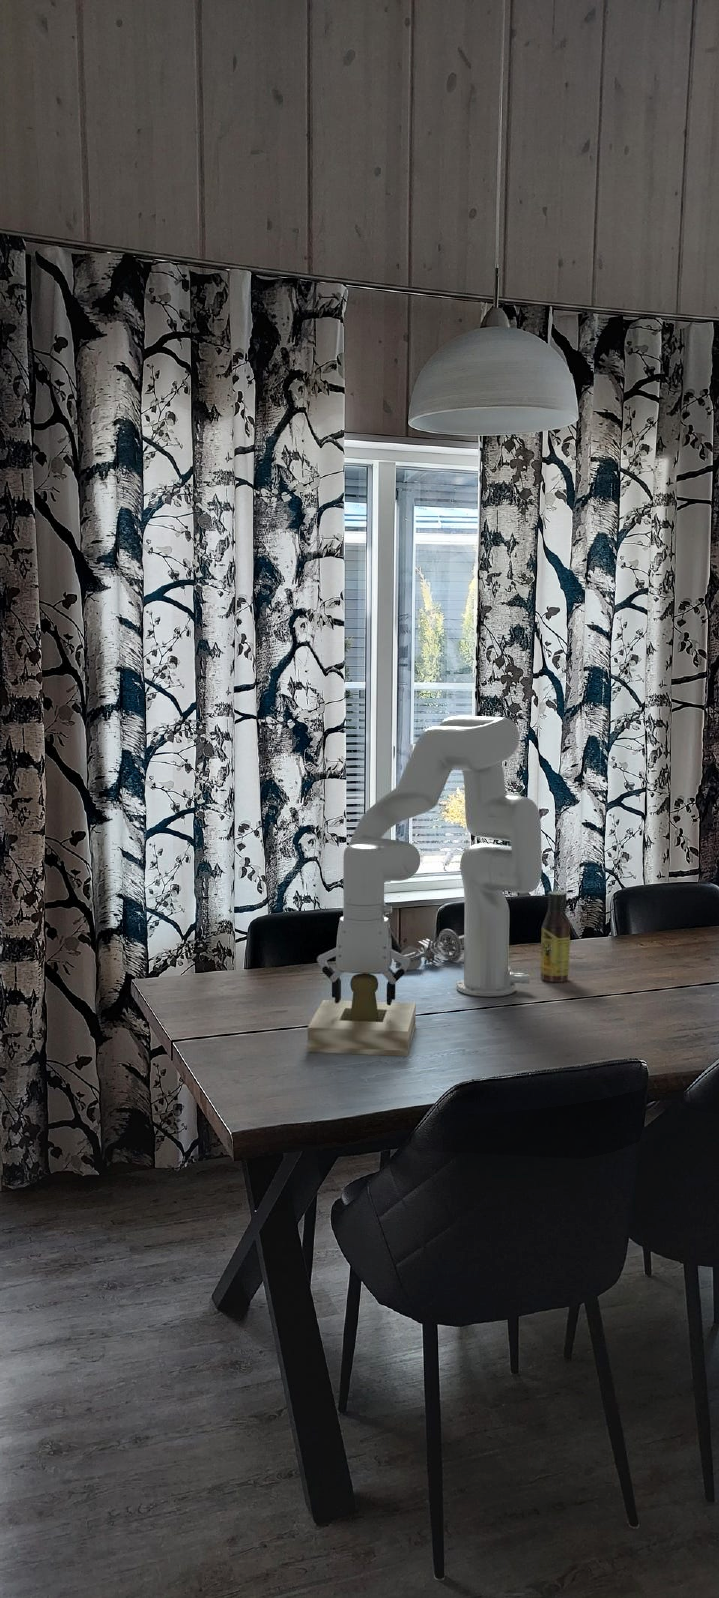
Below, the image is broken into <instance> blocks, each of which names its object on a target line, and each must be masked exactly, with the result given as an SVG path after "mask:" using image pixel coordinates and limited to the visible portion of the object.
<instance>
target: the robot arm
mask: <svg viewBox="0 0 719 1598" xmlns="http://www.w3.org/2000/svg"><path fill="white" fill-rule="evenodd" d="M519 742H520V731H519V729H518V726H517V725H516V723H515V722H514V721H513V720H512V719H509V718H508V717H501V716H477V715H457V716H456V715H455V716H449V717H447V718H445V719H443V720H442V721H441V722H440V724H439V726H430V727H428V728H426V729H424V730H423V731H422V732H421V734H420V735H419V737H418V739H417V741H416V743H415V745H414V748H413V750H412V752H411V754H410V757H409V758H408V761H407V763H406V765H405V767H404V770H403V772H402V774H401V777H400V779H399V781H398V782H397V785H396V787H395V788H393V789H392V790H391V791H389V792H388V793H387V794H385V795H384V796H382V797H381V798H380V799H378V800H377V801H376V802H375V803H374V804H373V805H372V806H371V807H370V808H368V810H366V812H365V813H363V815H362V816H361V817H360V819H359V822H357V824H356V825H357V826H356V827H355V829H354V831H353V834H352V836H351V839H350V842H349V844H348V846H347V847H345V849H344V851H343V857H342V859H343V862H342V863H343V867H342V868H343V875H342V876H343V877H342V878H343V882H342V883H343V886H342V887H343V904H342V905H343V916H341V917H339V923H338V928H337V935H336V947H334V948H333V949H330V950H328V951H325V952H324V953H322V954H319V955H318V956H317V958H316V961H317V963H318V965H319V967H320V968H321V970H322V973H323V974H324V975H325V976H326V977H327V978H328V979H329V981H330V983H331V998H332V999H333V998H334V1000H335V1003H339V1002H340V1000H341V1001H342V979H341V978H340V977H341V975H342V974H344V973H346V974H363V973H365V974H372V975H374V974H375V975H376V974H377V975H383V977H385V978H386V980H387V983H386V1002H387V1005H391V1003H392V1002H393V1000H394V1001H395V1000H396V983H397V982H398V981H399V980H400V979H401V978H402V977H403V976H404V975H405V974H406V972H407V968H408V966H409V964H410V961H411V960H410V959H409V958H407V957H406V956H404V955H402V954H400V953H401V952H398V951H396V950H394V949H393V948H392V934H391V927H390V920H389V917H386V915H388V914H392V913H393V906H392V905H387V904H386V903H385V882H395V881H396V882H400V881H401V882H402V881H406V880H408V879H411V878H412V877H413V876H414V875H416V874H417V872H418V870H419V868H420V867H421V855H420V852H419V850H418V849H417V847H416V846H415V845H414V844H412V843H411V842H408V841H404V840H399V839H398V840H397V839H389V838H384V835H385V834H387V832H388V831H389V830H390V829H392V828H393V827H394V826H396V825H397V824H399V823H401V822H404V821H407V820H408V819H411V818H414V817H416V816H420V815H422V814H425V813H427V812H429V811H431V810H433V809H434V808H436V806H437V804H438V803H439V800H440V797H441V795H442V792H443V791H444V789H445V786H446V784H447V782H448V779H449V776H450V775H451V772H452V771H461V773H462V775H463V786H464V807H465V808H464V809H465V810H464V811H465V812H464V814H465V823H466V824H465V825H466V828H467V831H468V832H469V833H470V834H471V836H474V837H477V838H481V839H486V840H487V839H488V840H494V841H495V840H496V841H503V842H504V841H505V842H506V841H507V842H509V844H510V845H505V844H496V843H486V842H485V843H482V842H481V843H475V844H472V845H470V846H468V847H467V848H466V849H465V850H464V851H463V852H462V854H461V857H460V863H459V864H460V866H459V868H460V874H461V881H462V886H463V894H464V895H463V897H464V921H463V922H464V926H463V927H464V931H463V932H464V934H463V935H464V948H463V978H462V979H460V980H458V981H457V982H456V990H457V991H459V992H460V993H462V994H465V995H469V996H474V997H485V998H487V997H488V998H489V997H490V998H491V997H492V998H493V997H504V996H507V995H511V994H513V993H514V992H515V991H516V984H523V985H525V984H526V985H530V983H531V982H530V980H531V979H530V974H525V973H523V972H513V971H511V966H509V960H510V959H509V958H510V957H509V955H510V954H509V953H510V952H509V951H510V947H509V945H510V907H509V903H508V900H507V898H506V896H505V894H504V892H509V893H519V894H527V893H528V894H529V893H531V892H533V891H536V889H537V888H538V886H539V884H540V882H541V879H542V871H543V854H542V851H543V850H542V823H541V821H542V820H541V815H540V811H539V808H538V806H537V804H536V803H535V801H533V800H532V799H531V798H529V797H527V796H521V795H510V794H509V795H508V794H507V792H506V784H505V783H506V781H505V771H504V767H503V764H502V762H504V761H506V760H508V759H510V758H511V757H512V756H513V755H514V753H515V752H516V750H517V749H518V746H519V744H520V743H519ZM332 958H335V968H336V969H335V970H334V969H333V968H332V967H331V966H330V965H329V964H328V962H327V961H329V960H330V959H332ZM394 960H396V961H398V962H400V963H401V967H400V968H399V969H398V968H397V970H396V971H395V972H394V970H393V969H392V968H391V967H392V965H393V964H392V962H393V961H394Z"/></svg>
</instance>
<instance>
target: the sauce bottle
mask: <svg viewBox="0 0 719 1598" xmlns="http://www.w3.org/2000/svg"><path fill="white" fill-rule="evenodd" d="M547 899H548V904H547V905H548V906H547V912H546V913H545V916H544V917H545V918H544V920H543V922H542V925H541V939H540V940H541V942H540V966H539V967H540V968H539V969H540V970H539V971H540V978H541V979H542V980H543V981H545V982H548V983H564V982H567V980H568V978H569V976H568V975H569V972H570V971H569V969H570V967H569V966H570V948H571V947H570V946H571V944H570V943H571V942H570V941H571V934H570V933H571V932H570V931H571V930H570V929H571V928H570V927H571V924H570V919H569V918H568V916H567V914H566V900H567V892H565V891H563V890H562V891H561V890H550V891H549V892H548V893H547Z"/></svg>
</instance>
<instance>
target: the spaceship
mask: <svg viewBox="0 0 719 1598" xmlns="http://www.w3.org/2000/svg"><path fill="white" fill-rule="evenodd" d="M418 943H420V944H422V945H423V947H420V949H419V948H418V947H415V946H413V945H408V946H407V947H406V948H404V949H403V950H402V951H401V952H399V953H400V954H402V955H404V956H406V957H407V958H409V959H410V960H411V961H410V964H409V966H408V968H407V970H409V971H411V970H412V971H413V969H417V968H418V969H419V968H420V966H421V965H422V963H423V965H424V964H426V965H427V964H428V963H429V964H430V963H432V964H434V965H435V966H436V965H437V963H438V964H441V963H445V961H444V960H442V959H441V958H440V957H439V956H442V957H444V959H446V960H447V959H448V960H447V961H449V962H453V963H454V962H458V961H459V959H460V958H461V957H462V954H463V949H464V934H462V935H458V934H457V933H456V932H455V931H454V930H452V929H450V928H445V929H442V930H441V931H440V933H439V934H438V937H437V938H436V939H435V938H434V939H432V940H431V939H429V938H425V940H424V939H422V940H419V941H418ZM422 958H424V961H423V960H422ZM393 961H394V963H395V964H393V966H394V968H395V969H397V970H398V969H399V968H400V967H401V963H400V962H398V961H396V960H394V959H393ZM422 961H423V962H422ZM407 970H406V971H407Z"/></svg>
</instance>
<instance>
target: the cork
mask: <svg viewBox="0 0 719 1598" xmlns="http://www.w3.org/2000/svg"><path fill="white" fill-rule="evenodd" d="M378 981H379V980H378V978H377V976H376V975H374V974H365V973H355V974H354V975H353V976H352V977H351V979H350V983H349V984H350V990H351V991H352V992H353V993H352V999H351V1001H352V1006H351V1014H350V1021H366V1022H379V1018H378V1010H377V1002H378V1001H377V995H376V992H377V990H378V989H379V982H378Z"/></svg>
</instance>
